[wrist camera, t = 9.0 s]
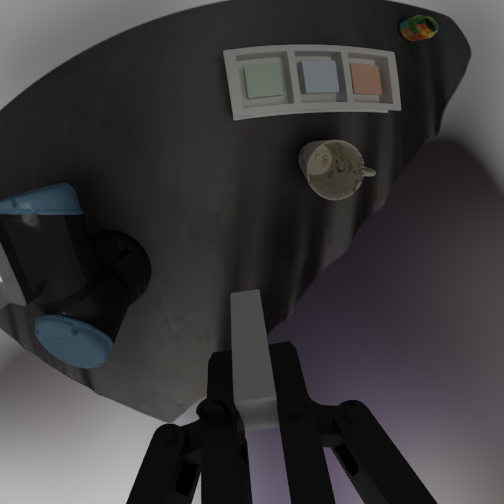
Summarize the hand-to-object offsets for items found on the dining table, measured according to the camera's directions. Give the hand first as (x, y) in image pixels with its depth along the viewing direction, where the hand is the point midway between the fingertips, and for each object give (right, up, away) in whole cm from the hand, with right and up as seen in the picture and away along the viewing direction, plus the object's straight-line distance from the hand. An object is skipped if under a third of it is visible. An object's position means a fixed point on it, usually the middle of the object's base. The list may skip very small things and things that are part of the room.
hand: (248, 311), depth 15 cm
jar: (+29, +44, +16) cm, 55 cm away
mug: (+13, +19, +28) cm, 36 cm away
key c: (+18, +31, +20) cm, 41 cm away
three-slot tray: (+10, +30, +22) cm, 38 cm away
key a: (+2, +28, +20) cm, 35 cm away
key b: (+10, +29, +19) cm, 36 cm away
